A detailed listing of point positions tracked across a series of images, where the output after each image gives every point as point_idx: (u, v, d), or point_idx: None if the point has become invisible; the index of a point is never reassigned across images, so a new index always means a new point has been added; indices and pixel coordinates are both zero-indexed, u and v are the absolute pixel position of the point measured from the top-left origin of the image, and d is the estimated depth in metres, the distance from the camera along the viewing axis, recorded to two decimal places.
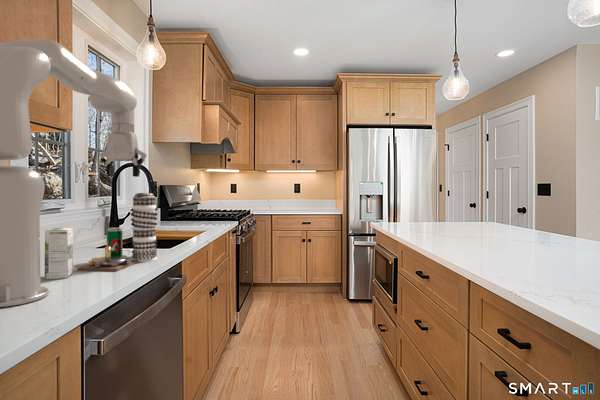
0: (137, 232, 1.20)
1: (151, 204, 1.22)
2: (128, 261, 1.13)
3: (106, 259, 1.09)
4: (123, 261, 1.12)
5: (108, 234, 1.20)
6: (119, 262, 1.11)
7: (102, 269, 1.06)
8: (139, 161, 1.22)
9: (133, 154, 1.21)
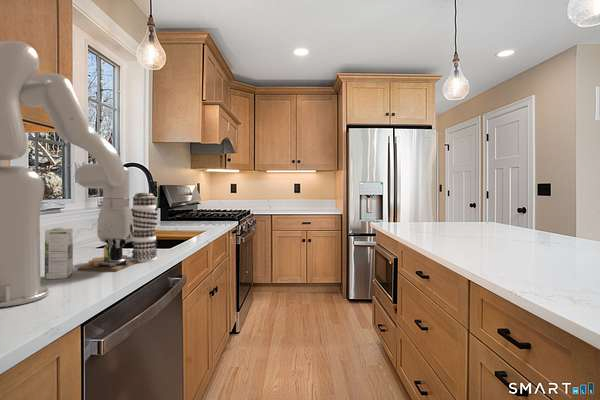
0: (137, 232, 1.20)
1: (151, 204, 1.22)
2: (127, 261, 1.12)
3: (105, 259, 1.09)
4: (122, 261, 1.12)
5: None
6: (118, 262, 1.10)
7: (102, 269, 1.06)
8: (121, 243, 1.08)
9: (127, 232, 1.07)
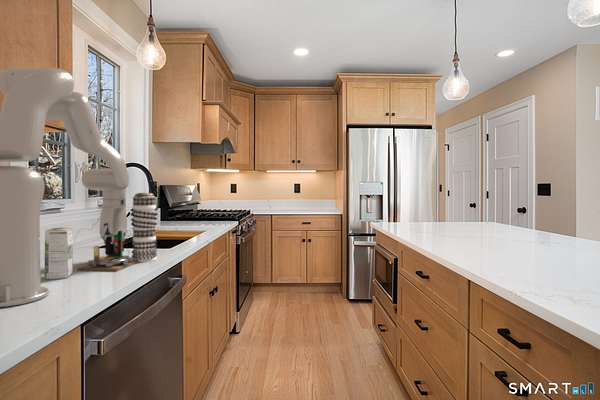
0: (137, 232, 1.20)
1: (151, 204, 1.22)
2: (108, 264, 1.08)
3: (94, 258, 1.10)
4: (105, 263, 1.09)
5: (108, 234, 1.20)
6: (101, 263, 1.08)
7: (102, 269, 1.06)
8: None
9: (100, 230, 1.17)
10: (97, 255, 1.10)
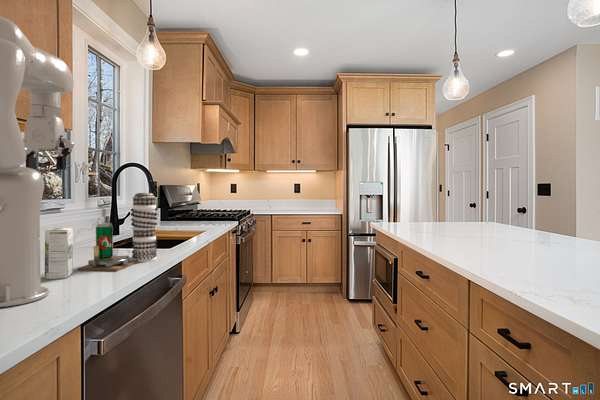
0: (137, 232, 1.21)
1: (151, 204, 1.22)
2: (108, 264, 1.08)
3: None
4: (105, 263, 1.08)
5: (109, 229, 1.13)
6: (101, 263, 1.08)
7: (102, 269, 1.06)
8: (64, 151, 1.01)
9: (56, 142, 1.00)
10: (97, 255, 1.10)
